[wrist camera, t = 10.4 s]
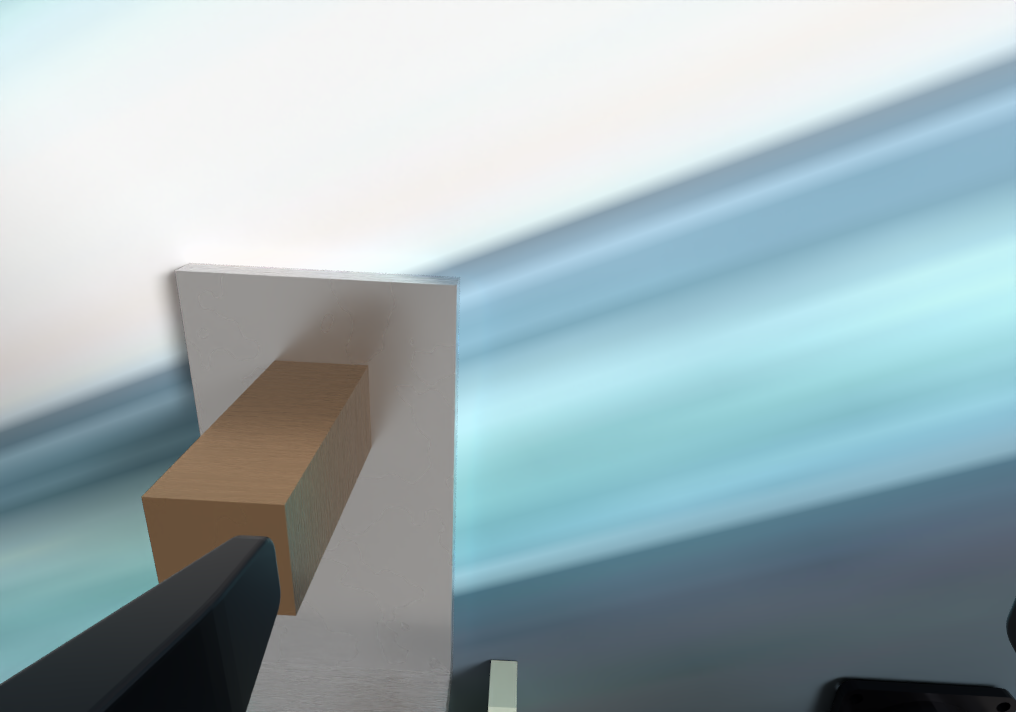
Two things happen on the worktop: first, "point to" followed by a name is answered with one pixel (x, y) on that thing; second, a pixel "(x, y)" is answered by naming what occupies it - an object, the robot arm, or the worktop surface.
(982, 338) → the worktop surface
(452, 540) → the metal bookend
